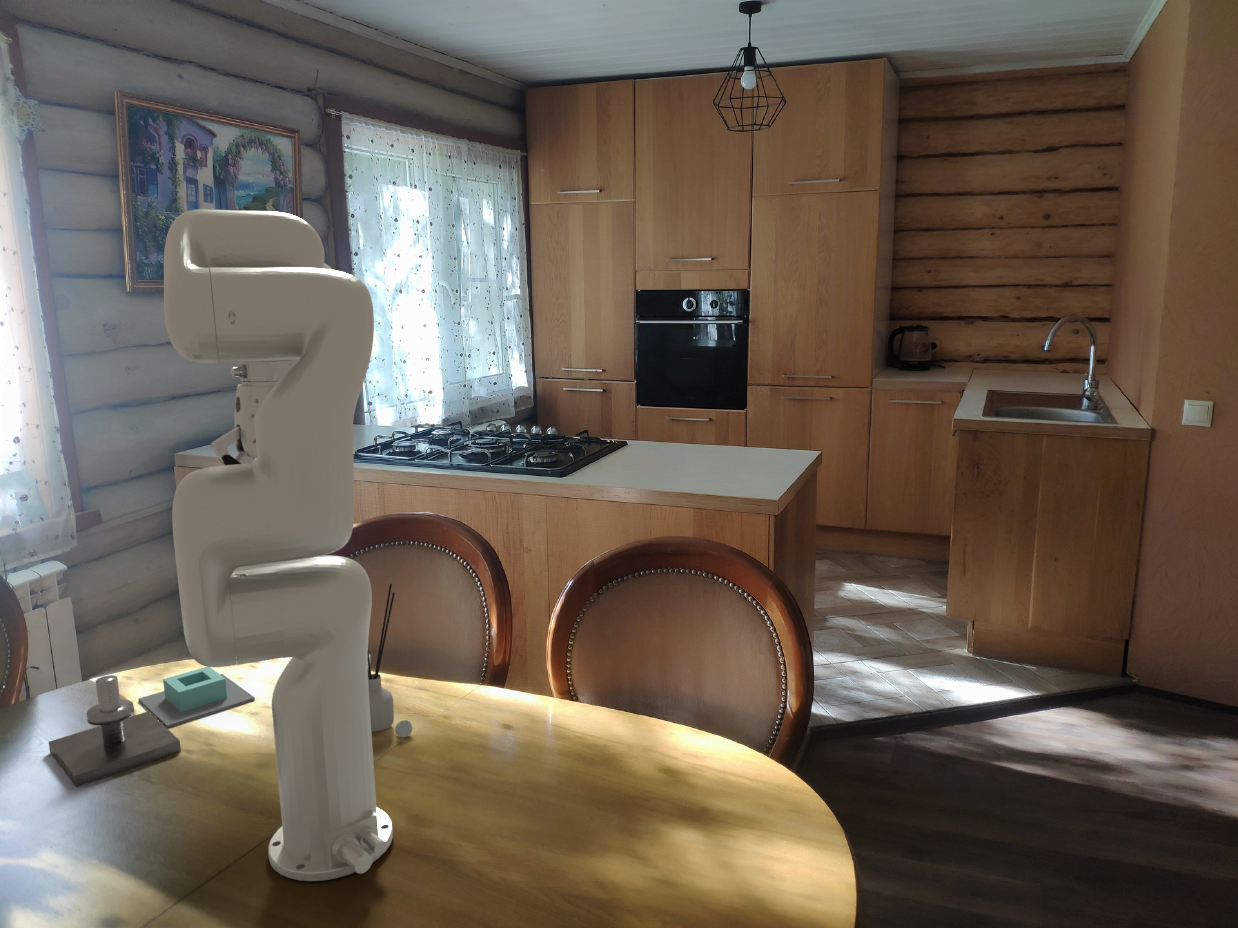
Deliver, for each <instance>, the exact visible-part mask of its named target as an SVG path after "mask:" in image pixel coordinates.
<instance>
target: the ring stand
mask: <svg viewBox="0 0 1238 928" xmlns="http://www.w3.org/2000/svg"><path fill="white" fill-rule="evenodd" d="M95 686H96V687H95V688H96V695H97V696H96V697H97V704H96V705H94V706H92V707H91V708H89V709H88V710H87V711H86V720H87V723H88V724H89V725H92V726H95V727H92V728H90V729H85V730H83V731H80V732H76V733H73V734H70V735H66V736H63V737H59V738H56V739H53V740H50V741H48V746H49V747H48V748H49V753H50V755H51V756H52V757H53V759H54V760H55V762H56V763H57V765H59V767H60V768H61V769H62V771H63V772H64V774H65V775H66V776H67V778H69V780H70V781H71V783H72V784H73V786H74V787H75V788H78V787H81V786H83V785H87V784H90V783H93V782H95V781H98V780H101V779H104V778H107V777H110V776H113V775H116V774H119V773H122V772H125V771H127V770H130V769H129V768H131V769H133V768H137V767H139V766H142V765H146V764H147V763H150V762H154V761H157V760H160V759H163V758H166V757H169V756H171V755H174V754H177V753H179V752H182V748H181V740H180V739H179V738H178V737H177V736H175V734H174V733H173V732H172V731H170V730H169V728H167V727H166V726H165V725H164V724H162V723H161V722H160V721H159V720H158V719H157V718H156V717H155V716H154V715H153V714H152V713H151V712H150V711H149V710H147V711H145V712H142V713H138V714H134V713H135V709H134V708H135V707H134V703H133V701H132V700H129V699H121V698H120V697H121V696H120V688H119V680H118V676H117V675H114V674H113V675H112V674H111V675H105V676H101V677H98V678H97V679H96V680H95ZM165 756H166V757H165ZM162 757H163V758H162ZM156 759H157V760H156ZM124 770H125V771H124ZM118 772H119V773H118ZM115 773H116V774H115Z"/></svg>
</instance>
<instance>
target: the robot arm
mask: <svg viewBox="0 0 1238 928" xmlns="http://www.w3.org/2000/svg"><path fill="white" fill-rule="evenodd" d="M163 252H164V253H163V310H164V311H163V313H164V322H165V323H164V324H165V328H166V333H167V335H168V339H169V341H170V343H171V345H172V346H173V349H175V351H176V352H177V353H178V354H179V355H180V356H181V357H183V358H184V359H187V360H189V361H191V362H195V363H199V364H200V363H201V364H224V363H225V364H226V363H238V365H236V366H231V367H230V369H229V370H230V375H231V377H232V378H236V377H237V378H239V381H241V384H237V387H236V393H235V400H234V401H235V402H234V428H232V429H231V430H229V431H227V432H226V433H224V434H222V435H221V436H220V437H217V439H215V440H213V441H212V442H211V443H210V447H211V449H212V450H213V452H214V454H215V455H216V456H217V458H218V460H219V461H220V462H221V463H222V464H223V465H215V466H207V467H204V468H199V469H196V470H194V471H192V472H189V473H188V474H186V475H185V476H184V477H183V478H181V480H180V481H179V482H178V484H177V487H176V489H175V492H174V495H173V499H172V500H173V501H172V512H171V513H172V514H171V518H172V519H171V521H172V537H173V547H174V556H175V565H176V567H175V568H176V573H177V583H178V593H179V601H180V602H179V603H180V612H181V619H182V620H181V621H182V627H183V634H184V639H185V643H186V646H187V648H188V651H189V654H190V655H191V657H192V658H193V660H195V662H197V663H198V664H199V665H201V666H203V667H210V668H223V667H232V666H240V665H245V664H251V663H257V662H264V661H269V660H276V659H287V658H291V659H289V661H288V663H287V665H286V666H285V667H284V669H283V671H282V672H281V673H280V676H279V678H278V680H277V681H276V683H275V686H274V689H273V692H272V696H271V712H272V713H271V714H272V725H273V738H274V748H275V749H274V751H275V759H276V770H277V771H276V772H277V781H278V783H277V784H278V795H279V804H280V814H281V815H280V816H281V826H280V827H279V828H278V829H277V831H275V833H274V834H273V835H272V837H271V839H270V840H269V842H268V846H267V849H268V860H269V864H270V866H271V867H272V869H273V870H274V871H276V872H277V873H278V874H280V875H281V876H284V877H286V878H288V879H292V880H297V881H302V882H303V881H304V882H319V881H320V882H323V881H328V880H334V879H339V878H341V877H345V876H349V875H352V874H354V873H357V874H360V875H361V874H364V873H366V872H367V871H369V869H370V868H371V866H372V865H373V863H374V862H376V861H377V860H378V859H379V858H380V857H382V855H383V854H385V852H386V851H387V850H388V849H389V847H390V845H391V844H392V842H393V841H392V840H393V838H394V829H393V828H394V827H393V821H392V819H391V817H390V815H388V813H386V812H385V811H384V810H382V809H380V808H379V807H377V795H376V780H375V767H374V751H373V750H374V749H373V734H372V733H373V731H371V717H370V702H369V686H368V650H369V635H370V627H371V626H370V624H371V616H372V615H371V614H372V605H373V603H372V602H373V600H372V597H373V595H372V594H373V593H372V585H371V580H370V577H369V575H368V573H367V571H366V569H365V568H364V566H362V565H361V564H360V563H359V562H358V561H356V560H354V559H352V558H349V557H345V556H342V555H341V556H340V555H329V554H332V553H335V552H338V551H339V550H341V549H343V548H344V547H345V546H346V545H347V543H349V541H350V539H351V537H352V534H353V529H354V526H355V525H354V524H355V467H354V466H355V465H354V464H355V463H354V458H355V457H354V417H355V413H356V408H357V405H358V404H357V403H358V400H359V397H360V394H361V391H362V388H363V385H364V382H365V379H366V377H367V372H368V369H369V365H370V361H371V357H372V352H373V344H374V337H375V336H374V332H375V318H374V317H375V316H374V306H373V304H374V303H373V299H372V296H371V292H370V291H369V289H368V288H367V285H366V284H365V283H364V282H363V281H362V280H361V279H360V278H358V277H356V276H354V275H353V274H350V273H348V272H347V273H346V272H345V271H340V270H335V269H334V268H332V267H331V266H330V265H328V264H326V263H325V258H326V256H325V247H324V244H323V241H322V238H321V237H320V235H319V233H318V231H316V229H315V228H314V227H313V226H312V225H311V224H310V223H309V222H307V221H305V219H303V218H300V217H298V216H296V215H293V214H291V213H286V212H280V211H271V210H231V209H228V210H227V209H203V208H198V209H191V210H187V211H184V212H183V213H181V214H180V215H178V216H177V217H176V218H175V219H174V220H173V222H172V223H171V225H170V227H169V229H168V232H167V235H166V238H165V244H164V251H163ZM234 442H235V448H236V451H237V452H238V453H237V454H236V456H235V457H233V456H232V455H231V454H230V453H229V450H228V446H230V445H231V444H233V443H234ZM254 460H255V461H254Z"/></svg>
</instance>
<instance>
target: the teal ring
mask: <svg viewBox="0 0 1238 928" xmlns="http://www.w3.org/2000/svg"><path fill="white" fill-rule="evenodd" d="M162 681H163V682H162V683H163V691H164V692H165V699H166V700H168V701H169V702H170V703H171V704H172V705H173V706H174V707H176V708H177V709H178V710H179V711H180V712H184V711H187V710H190V709H193V708H197V707H200V706H203V705H206V704H209V703H213V702H216V701H219V700H222V699H225V698H227V690H226V680H225V678H224V677H223V676H221V675H220V673H219V672H217V671H216V670H214V669H213V667H207V666H203V667H201V668H198V669H194V670H190V671H187V672H183V673H180V674H177V675H173V676H169V677H166V678H163V679H162Z"/></svg>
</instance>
